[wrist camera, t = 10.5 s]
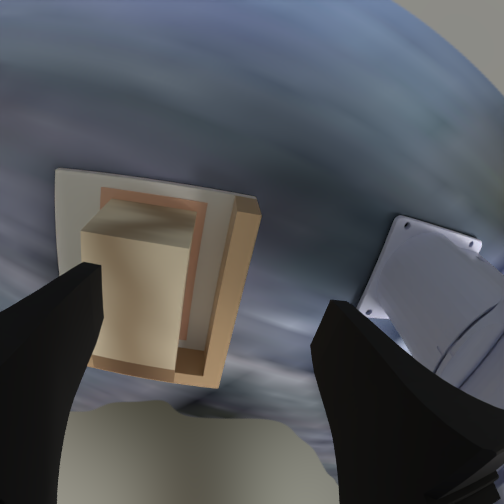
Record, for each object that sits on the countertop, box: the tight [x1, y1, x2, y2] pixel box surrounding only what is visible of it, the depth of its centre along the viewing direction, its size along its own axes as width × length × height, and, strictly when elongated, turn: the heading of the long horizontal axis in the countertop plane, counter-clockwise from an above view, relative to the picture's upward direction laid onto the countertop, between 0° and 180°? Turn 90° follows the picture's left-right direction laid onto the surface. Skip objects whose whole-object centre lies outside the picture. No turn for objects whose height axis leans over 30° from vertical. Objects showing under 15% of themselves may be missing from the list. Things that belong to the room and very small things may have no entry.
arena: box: [55, 168, 262, 388], centre depth 18 cm, size 12×13×3 cm
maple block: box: [80, 199, 197, 383], centre depth 17 cm, size 5×9×4 cm, turn 167°
